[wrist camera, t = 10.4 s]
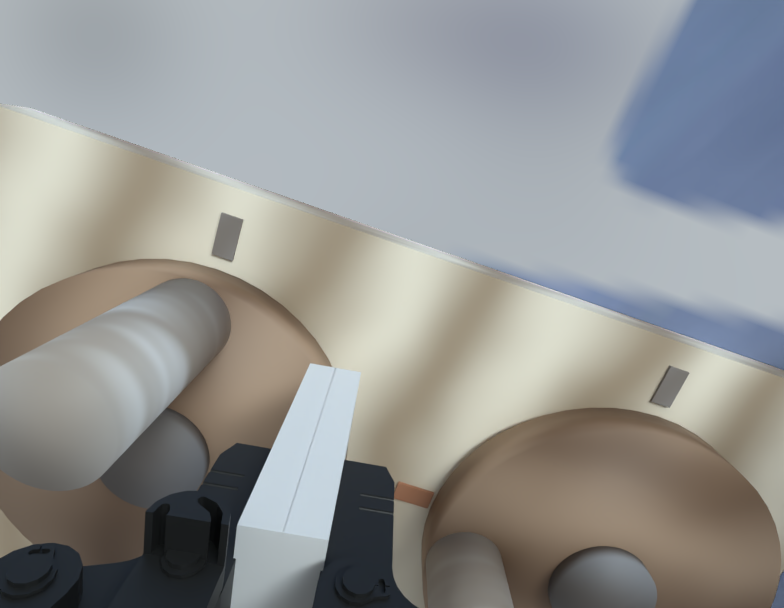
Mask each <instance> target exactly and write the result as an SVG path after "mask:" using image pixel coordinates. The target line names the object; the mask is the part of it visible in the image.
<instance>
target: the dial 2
mask: <svg viewBox="0 0 784 608" xmlns="http://www.w3.org/2000/svg"><path fill="white" fill-rule="evenodd" d="M421 562H422V585H423V598H424V604H425V608H771V605H772V603H773V601H774V598H775V595H776V591H777V587H778V584H779V579H780V569H781V550H780V541H779V537H778V533H777V528H776V524H775V522H774V520H773V518H772V515H771V513H770V511H769V509H768V506H767V505H766V503H765V502H764V500H763V499H762V497H761V496H760V494H759V493H758V491H757V490H756V489H755V488H754V487H753V486H752V485H751V484H750V483H749V481H748V480H747V479H746V478H745V477H744V476H743V475H742V474H741V473H740V472H739V471H738V470H737V469H735V468H734V467H733V466H732V465H731V464H730V463H729V462H728V461H727V460H726V459H725V458H724V457H723V456H722V455H720V454H719V453H718V452H717V451H716V450H715V449H714V448H713V447H712V446H711V445H709V444H708V443H707V442H705V441H704V440H703V439H702V438H700V437H699V436H698V435H696V434H695V433H693V432H691V431H689V430H687V429H686V428H684V427H682V426H680V425H679V424H676V423H674V422H671V421H669V420H666V419H664V418H661V417H659V416H655V415H651V414H647V413H643V412H639V411H635V410H627V409H619V408H582V409H572V410H565V411H560V412H556V413H552V414H547V415H543V416H540V417H537V418H534V419H531V420H528V421H526V422H523V423H520V424H518V425H516V426H514V427H512V428H510V429H508V430H506V431H504V432H502V433H500V434H498V435H497V436H495V437H494V438H492V439H490V440H489V441H487V442H486V443H484V444H483V445H481V446H480V447H479V448H478V449H476V450H475V451H474V452H473V453H471V454H470V455H469V456H468V457H467V458H465V459H464V460H463V462H462V463H461V464H460V465H459V466H458V467H457V468H456V469H455V470H454V471H453V472H452V473H451V474H450V476H449V477H448V479H447V480H446V481H445V483H444V484H443V486H442V487H441V488H440V490H439V492H438V494H437V496H436V498H435V499H434V501H433V503H432V505H431V507H430V510H429V513H428V516H427V519H426V522H425V525H424V531H423V537H422V549H421Z"/></svg>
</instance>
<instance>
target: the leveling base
mask: <svg viewBox="0 0 784 608" xmlns="http://www.w3.org/2000/svg"><path fill="white" fill-rule="evenodd" d="M136 259H171V260H178V261H186V262H192V263H196V264H200V265H204V266H207V267H211V268H215V269H218V270H220V271H223V272H225V273H228V274H230V275H233V276H235V277H238V278H240V279H242V280H244V281H246V282H248V283H249V284H251V285H253V286H255V287H257V288H259V289H260V290H262V291H264V292H265V293H266V294H268V295H269V296H271V297H272V298H273V299H275V300H276V301H278V302H279V303H280V304H282V305H283V306H284V307H285V308H286V309H287V310H288V311H290V312H291V313H292V314H293V315H294V316H295V317H296V318H297V319H298V320H299V321H300V322H301V323H302V324H303V325H304V326H305V327H306V329H307V330H308V331H309V332H310V333H311V335H312V336H313V337H314V338H315V339H316V341H317V342H318V344H319V345H320V347H321V348H322V350H323V351H324V353H325V354H326V356H327V357H328V359H329V361H330V363H331V365H332V367H334V368H340V369H345V370H351V371H357V372H361V376H360V381H359V387H358V392H357V398H356V403H355V409H354V414H353V420H352V425H351V431H350V436H349V443H348V451H347V459H346V460H349V461H355V462H361V463H366V464H372V465H378V466H384V467H386V468H387V469H388V471H389V473H390V475H391V477H392V479H393V480H394V514H393V516H394V522H393V561H392V569H393V577H394V580H395V582H396V584H397V587H398V588H399V590H400V591H401V592H402V594H403V595H404V596H405V597H406V598H407V599H408V600H409V601H410V602H411V603H412V604H413V605H415V606H417V607H418V608H425V604H424V598H423V585H422V562H421V549H422V537H423V531H424V525H425V522H426V519H427V516H428V513H429V510H430V507H431V505H432V503H433V501H434V499H435V498H436V496H437V494H438V492H439V490H440V488H441V487H442V486H443V484H444V483H445V481H446V480H447V479H448V477H449V476H450V474H451V473H452V472H453V471H454V470H455V469H456V468H457V467H458V466H459V465H460V464H461V463H462V462H463V460H464V459H465V458H467V457H468V456H469V455H470V454H471V453H473V452H474V451H475V450H476V449H478V448H479V447H480V446H481V445H483V444H484V443H486V442H487V441H489V440H490V439H492V438H494V437H495V436H497V435H498V434H500V433H502V432H504V431H506V430H508V429H510V428H512V427H514V426H516V425H518V424H520V423H523V422H526V421H528V420H531V419H534V418H537V417H540V416H543V415H547V414H552V413H556V412H560V411H565V410H572V409H582V408H619V409H627V410H635V411H639V412H643V413H647V414H651V415H655V416H659V417H661V418H664V419H666V420H669V421H671V422H674V423H676V424H679V425H680V426H682V427H684V428H686V429H687V430H689V431H691V432H693V433H695V434H696V435H698V436H699V437H700V438H702V439H703V440H704V441H705V442H707V443H708V444H709V445H711V446H712V447H713V448H714V449H715V450H716V451H717V452H718V453H719V454H720V455H722V456H723V457H724V458H725V459H726V460H727V461H728V462H729V463H730V464H731V465H732V466H733V467H734V468H735V469H737V470H738V471H739V472H740V473H741V474H742V475H743V476H744V477H745V478H746V479H747V480H748V481H749V483H750V484H751V485H752V486H753V487H754V488H755V489H756V490H757V491H758V493H759V494H760V496H761V497H762V499H763V500H764V502H765V503H766V505H767V506H768V509H769V511H770V513H771V515H772V518H773V520H774V522H775V524H776V528H777V533H778V537H779V541H780V550H781V569H780V575H781V573H782V572H783V571H784V370H782V369H779V368H776V367H773V366H770V365H767V364H765V363H762V362H759V361H756V360H753V359H750V358H747V357H744V356H742V355H739V354H736V353H733V352H730V351H727V350H724V349H721V348H719V347H716V346H713V345H710V344H707V343H704V342H701V341H698V340H696V339H693V338H690V337H687V336H684V335H681V334H678V333H675V332H673V331H670V330H667V329H664V328H661V327H658V326H655V325H653V324H650V323H647V322H644V321H641V320H638V319H635V318H632V317H630V316H627V315H624V314H621V313H618V312H615V311H612V310H609V309H607V308H604V307H601V306H598V305H595V304H592V303H589V302H586V301H584V300H581V299H578V298H575V297H572V296H569V295H566V294H563V293H561V292H558V291H555V290H552V289H549V288H546V287H543V286H541V285H538V284H535V283H532V282H529V281H526V280H523V279H520V278H518V277H515V276H512V275H509V274H506V273H503V272H500V271H497V270H495V269H492V268H489V267H486V266H483V265H480V264H477V263H474V262H472V261H469V260H466V259H463V258H460V257H457V256H454V255H451V254H449V253H446V252H443V251H440V250H437V249H434V248H431V247H429V246H426V245H423V244H420V243H417V242H414V241H411V240H408V239H406V238H403V237H400V236H397V235H394V234H391V233H388V232H385V231H383V230H380V229H377V228H374V227H371V226H368V225H365V224H362V223H360V222H357V221H354V220H351V219H348V218H345V217H342V216H339V215H337V214H333V213H331V212H328V211H325V210H322V209H319V208H316V207H314V206H311V205H308V204H305V203H302V202H299V201H296V200H294V199H290V198H288V197H285V196H282V195H279V194H276V193H273V192H270V191H268V190H265V189H262V188H259V187H256V186H253V185H250V184H248V183H245V182H242V181H239V180H236V179H233V178H230V177H227V176H225V175H222V174H219V173H216V172H213V171H210V170H207V169H205V168H202V167H199V166H196V165H193V164H190V163H187V162H184V161H182V160H179V159H176V158H173V157H170V156H167V155H164V154H161V153H159V152H155V151H153V150H150V149H147V148H144V147H141V146H138V145H136V144H133V143H129V142H127V141H124V140H121V139H118V138H115V137H112V136H110V135H107V134H104V133H101V132H98V131H95V130H92V129H90V128H87V127H84V126H81V125H78V124H75V123H72V122H70V121H67V120H64V119H61V118H58V117H55V116H52V115H49V114H47V113H44V112H41V111H38V110H35V109H32V108H28V107H20V106H13V105H5V104H0V320H1V319H2V318H3V317H4V316H5V315H6V314H7V313H8V312H10V311H11V310H12V309H13V308H14V307H15V306H16V305H18V304H19V303H20V302H21V301H23V300H24V299H26V298H27V297H29V296H31V295H32V294H34V293H35V292H37V291H39V290H40V289H42V288H45V287H47V286H49V285H51V284H54V283H56V282H58V281H61V280H63V279H66V278H69V277H71V276H74V275H77V274H80V273H83V272H85V271H88V270H91V269H94V268H97V267H101V266H104V265H108V264H112V263H116V262H120V261H128V260H136ZM30 545H33V544H32V543H31V542H30V541H29V540H28V539H27V538H26V537H24V536H23V535H22V534H21V532H20V531H19V530H18V529H17V528H16V527H15V526H14V525H13V524H12V523H11V522H10V521H9V519H8V518H7V517H6V516H5V514H4V513H3V511H2V510H1V509H0V558H1V557H3V556H5V555H7V554H9V553H10V552H12V551H14V550H18V549H21V548H24V547H27V546H30Z"/></svg>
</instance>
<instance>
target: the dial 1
mask: <svg viewBox="0 0 784 608" xmlns="http://www.w3.org/2000/svg"><path fill="white" fill-rule="evenodd" d="M310 363H312V364H317V365H323V366H329V367H332V365H331V363H330V361H329V359H328V357H327V356H326V354H325V353H324V351H323V350H322V348H321V347H320V345H319V344H318V342H317V341H316V339H315V338H314V337H313V336H312V335H311V333H310V332H309V331H308V330H307V329H306V327H305V326H304V325H303V324H302V323H301V322H300V321H299V320H298V319H297V318H296V317H295V316H294V315H293V314H292V313H291V312H290V311H288V310H287V309H286V308H285V307H284V306H283V305H282V304H280V303H279V302H278V301H276V300H275V299H273V298H272V297H271V296H269V295H268V294H266V293H265V292H264V291H262V290H260V289H259V288H257V287H255V286H253V285H251V284H249V283H248V282H246V281H244V280H242V279H240V278H238V277H235V276H233V275H230V274H228V273H225V272H223V271H220V270H218V269H215V268H211V267H207V266H204V265H200V264H196V263H192V262H186V261H178V260H171V259H136V260H128V261H120V262H116V263H112V264H108V265H104V266H101V267H97V268H94V269H91V270H88V271H85V272H83V273H80V274H77V275H74V276H71V277H69V278H66V279H63V280H61V281H58V282H56V283H54V284H51V285H49V286H47V287H45V288H42V289H40V290H39V291H37V292H35V293H34V294H32V295H31V296H29V297H27V298H26V299H24V300H23V301H21V302H20V303H19V304H18V305H16V306H15V307H14V308H13V309H12V310H11V311H10V312H8V313H7V314H6V315H5V316H4V317H3V318H2V319H1V320H0V509H1V510H2V511H3V513H4V514H5V516H6V517H7V518H8V519H9V521H10V522H11V523H12V524H13V525H14V526H15V527H16V528H17V529H18V530H19V531H20V532H21V534H22V535H23V536H24V537H26V538H27V539H28V540H29V541H30V542H31V543H32V544H43V543H57V544H62V545H67V546H70V547H71V548H73V549H74V550H75V551H77V552H78V553H79V554H80V557H81V561H82V564H83V566H90V565H100V564H109V563H117V562H123V561H128V560H132V559H135V558H137V557H140V556H142V555H143V549H144V529H145V511H146V510H147V509H148V508H149V507H150V506H152V505H153V504H154V503H155V502H156V501H158V500H160V499H162V498H164V497H166V496H168V495H170V494H173V493H178V492H183V491H198V489H199V488H200V486H201V485H202V484H203V481H204V479H205V478H206V476H207V475H208V473H209V472H210V471H211V468H212V467H213V465H214V463H215V462H216V460H217V458H218V457H219V455H220V454H221V453H223V452H224V451H226V450H227V449H228V448H230V447H231V446H233V445H234V444H236V443H241V444H247V445H253V446H259V447H264V448H270V449H272V447H273V445H274V442H275V440H276V438H277V436H278V433H279V431H280V429H281V427H282V425H283V422H284V420H285V418H286V416H287V414H288V411H289V409H290V407H291V405H292V402H293V400H294V398H295V396H296V394H297V391H298V389H299V387H300V385H301V383H302V380H303V378H304V376H305V374H306V371H307V369H308V367H309V365H310ZM348 443H349V442H348ZM347 451H348V447H347ZM346 459H347V453H346V458H345V460H346Z"/></svg>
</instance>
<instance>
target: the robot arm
mask: <svg viewBox="0 0 784 608" xmlns="http://www.w3.org/2000/svg"><path fill="white" fill-rule="evenodd" d="M360 376H361V372H357V371H351V370H345V369H340V368H334V367H329V366H323V365H317V364H312V363H310V365H309V367H308V369H307V371H306V374H305V376H304V378H303V380H302V383H301V385H300V387H299V389H298V391H297V394H296V396H295V398H294V400H293V402H292V405H291V407H290V409H289V411H288V414H287V416H286V418H285V420H284V422H283V425H282V427H281V429H280V431H279V433H278V436H277V438H276V440H275V442H274V445H273V447H272V449H270V448H264V447H259V446H253V445H247V444H241V443H236V444H234V445H233V446H231V447H230V448H228V449H227V450H226V451H224V452H223V453H221V454H220V455H219V457H218V458H217V460H216V462H215V463H214V465H213V467H212V468H211V471H210V472H209V473H208V475H207V476H206V478H205V479H204V481H203V484H202V485H201V486H200V488H199V489H198V491H183V492H178V493H173V494H170V495H168V496H166V497H164V498H162V499H160V500H158V501H156V502H155V503H154V504H153V505H152V506H150V507H149V508H148V509H147V510H146V511H145V529H144V549H143V555H142V556H140V557H137V558H135V559H132V560H128V561H123V562H117V563H109V564H100V565H90V566H83V564H82V561H81V557H80V554H79V553H78V552H77V551H75V550H74V549H73V548H71V547H70V546H67V545H62V544H57V543H43V544H33V545H30V546H27V547H24V548H21V549H18V550H14V551H12V552H10V553H9V554H7V555H5V556H3V557H1V558H0V608H418V607H417V606H415V605H413V604H412V603H411V602H410V601H409V600H408V599H407V598H406V597H405V596H404V595H403V594H402V592H401V591H400V590H399V588H398V587H397V584H396V582H395V580H394V577H393V569H392V561H393V522H394V516H393V514H394V480H393V479H392V477H391V475H390V473H389V471H388V469H387V468H386V467H384V466H378V465H372V464H366V463H361V462H355V461H349V460H345V458H346V453H347V447H348V442H349V436H350V431H351V425H352V420H353V414H354V409H355V403H356V398H357V392H358V387H359V381H360Z"/></svg>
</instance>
